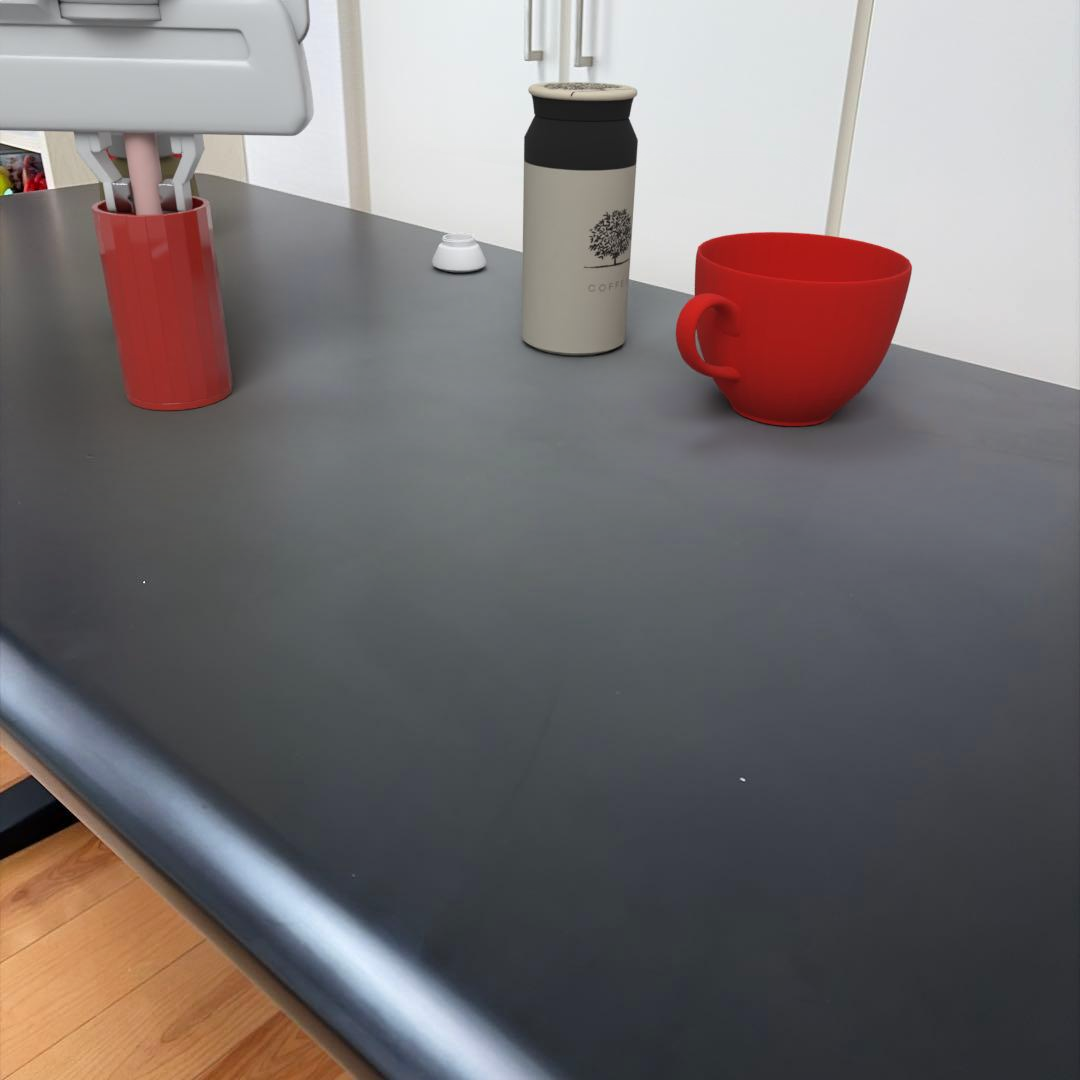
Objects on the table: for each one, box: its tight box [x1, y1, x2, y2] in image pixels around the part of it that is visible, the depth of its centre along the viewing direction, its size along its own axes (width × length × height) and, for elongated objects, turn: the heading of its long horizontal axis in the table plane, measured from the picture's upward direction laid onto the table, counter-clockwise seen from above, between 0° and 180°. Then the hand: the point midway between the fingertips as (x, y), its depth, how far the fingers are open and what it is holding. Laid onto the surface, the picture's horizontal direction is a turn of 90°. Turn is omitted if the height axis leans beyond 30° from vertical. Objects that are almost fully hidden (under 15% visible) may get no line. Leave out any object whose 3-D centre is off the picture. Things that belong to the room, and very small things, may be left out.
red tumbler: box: [91, 196, 234, 412], centre depth 65 cm, size 7×7×12 cm
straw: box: [123, 133, 167, 215], centre depth 63 cm, size 2×2×15 cm
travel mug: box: [521, 81, 639, 357], centre depth 75 cm, size 8×8×18 cm
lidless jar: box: [431, 232, 487, 274], centre depth 97 cm, size 5×3×5 cm
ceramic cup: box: [675, 231, 913, 427], centre depth 64 cm, size 13×17×10 cm
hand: (151, 211), depth 62 cm, fingers closed on straw, 2 cm apart
